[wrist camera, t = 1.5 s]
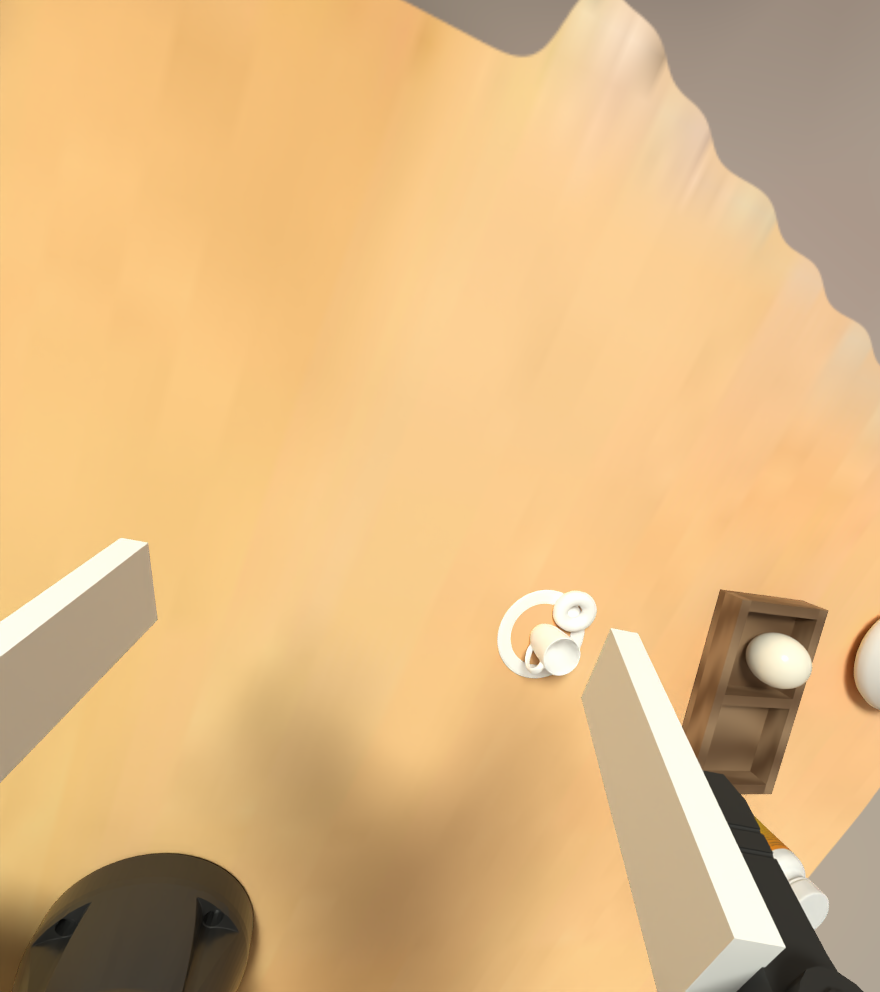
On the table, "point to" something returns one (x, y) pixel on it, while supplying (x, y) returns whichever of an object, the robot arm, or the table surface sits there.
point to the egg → (778, 660)
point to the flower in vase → (869, 667)
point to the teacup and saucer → (549, 633)
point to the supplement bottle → (798, 879)
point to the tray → (746, 690)
